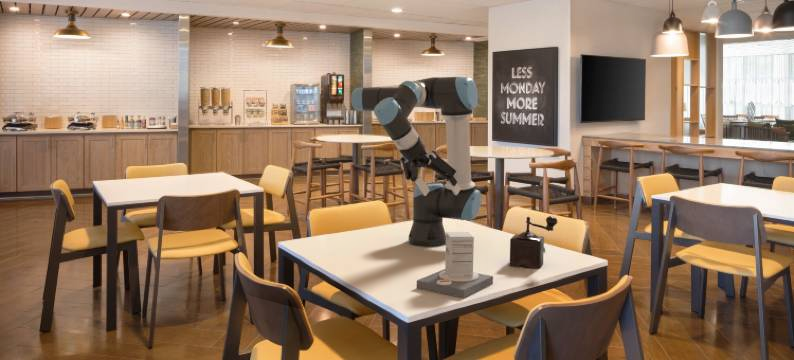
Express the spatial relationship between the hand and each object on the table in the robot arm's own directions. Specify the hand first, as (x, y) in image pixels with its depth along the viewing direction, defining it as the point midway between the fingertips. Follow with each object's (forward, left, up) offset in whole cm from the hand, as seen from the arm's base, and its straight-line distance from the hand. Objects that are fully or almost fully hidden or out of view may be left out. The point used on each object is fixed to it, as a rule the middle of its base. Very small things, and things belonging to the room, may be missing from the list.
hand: (442, 192), depth 203 cm
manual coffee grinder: (+22, +25, -26) cm, 42 cm away
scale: (+13, -13, -26) cm, 31 cm away
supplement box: (+13, -11, -23) cm, 28 cm away
